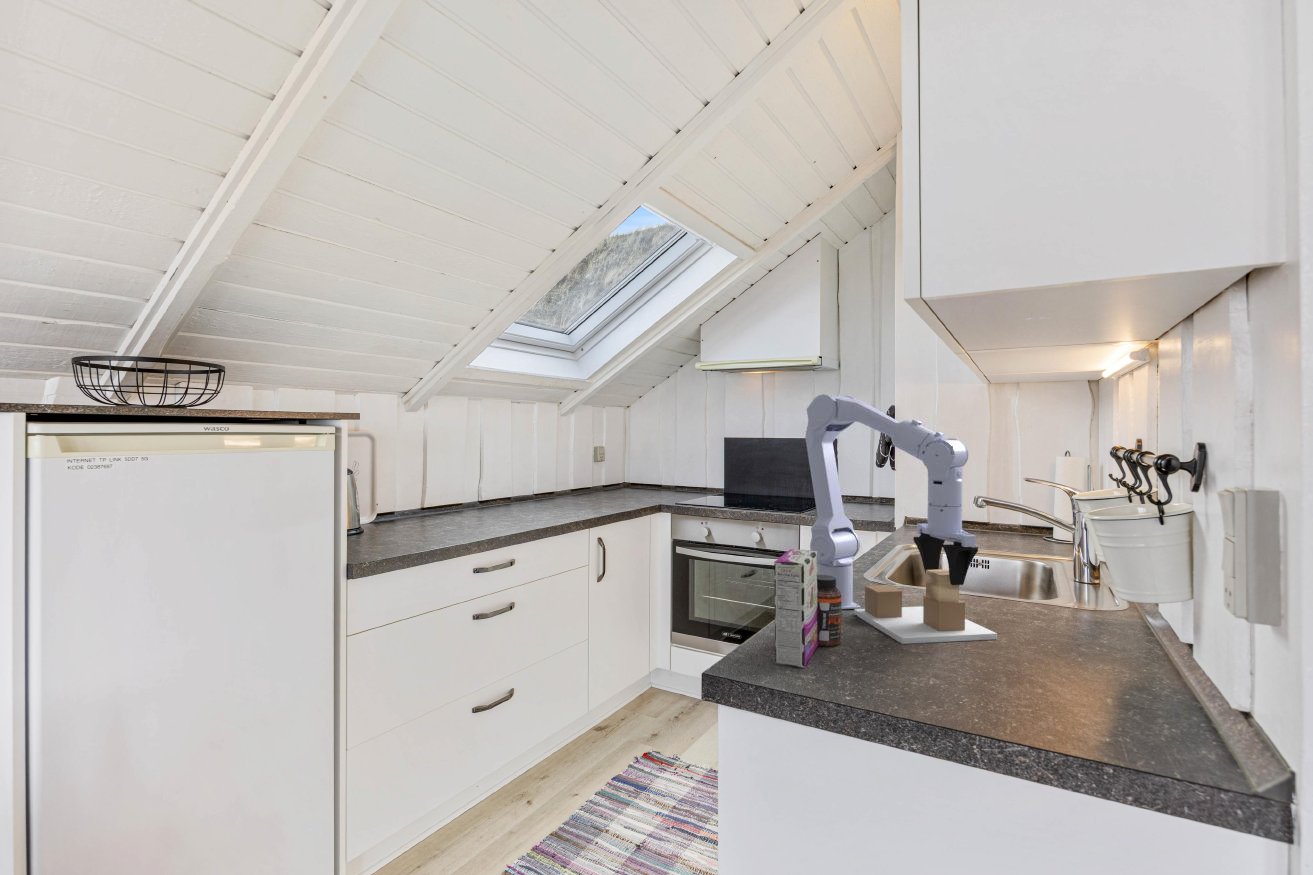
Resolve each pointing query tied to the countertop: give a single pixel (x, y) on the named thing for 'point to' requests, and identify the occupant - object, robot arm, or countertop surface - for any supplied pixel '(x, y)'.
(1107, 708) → the countertop surface
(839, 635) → the supplement bottle
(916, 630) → the tray with cubes
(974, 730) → the countertop surface
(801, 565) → the candy bar box
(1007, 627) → the countertop surface
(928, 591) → the block
